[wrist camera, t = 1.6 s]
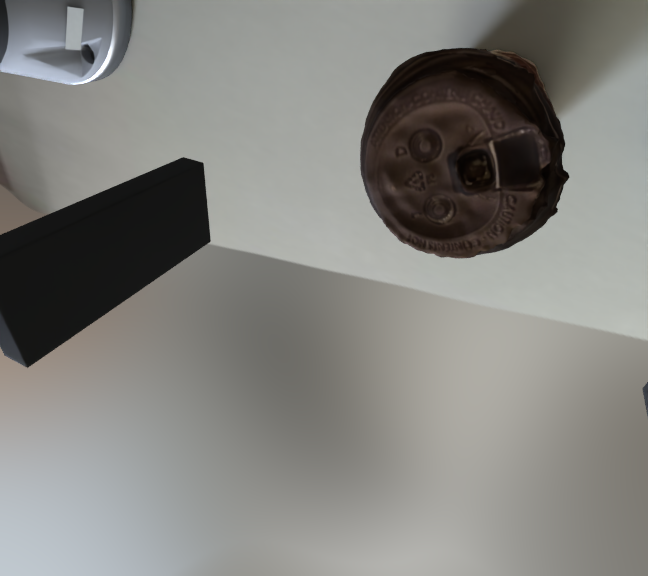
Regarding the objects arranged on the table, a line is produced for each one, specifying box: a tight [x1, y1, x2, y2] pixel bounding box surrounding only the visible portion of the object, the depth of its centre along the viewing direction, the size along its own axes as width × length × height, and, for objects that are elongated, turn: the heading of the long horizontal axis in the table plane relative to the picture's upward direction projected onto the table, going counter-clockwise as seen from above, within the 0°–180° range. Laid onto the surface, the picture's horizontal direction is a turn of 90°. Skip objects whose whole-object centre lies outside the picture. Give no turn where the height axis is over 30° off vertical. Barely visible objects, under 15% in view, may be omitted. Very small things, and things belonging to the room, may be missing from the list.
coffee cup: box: [360, 48, 569, 258], centre depth 21 cm, size 9×8×13 cm
